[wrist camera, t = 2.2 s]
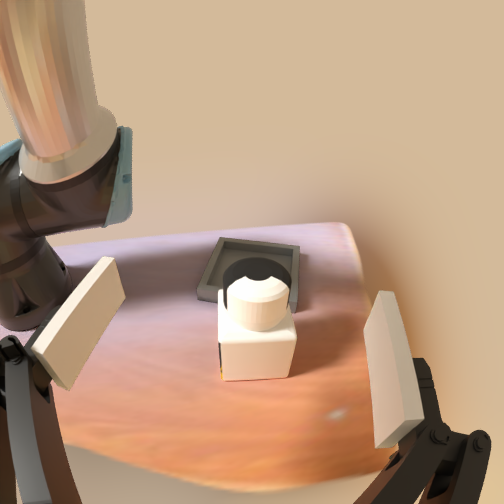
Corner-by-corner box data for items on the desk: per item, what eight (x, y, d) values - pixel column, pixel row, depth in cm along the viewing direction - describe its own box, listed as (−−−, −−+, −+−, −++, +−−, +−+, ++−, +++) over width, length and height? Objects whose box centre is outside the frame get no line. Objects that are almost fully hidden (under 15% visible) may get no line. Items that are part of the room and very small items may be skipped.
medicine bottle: (220, 332, 35) (216, 249, 28) (278, 329, 36) (290, 247, 29) (221, 382, 29) (215, 301, 22) (288, 378, 30) (307, 298, 23)
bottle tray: (197, 299, 39) (196, 288, 38) (220, 247, 50) (219, 237, 49) (295, 313, 38) (297, 302, 37) (298, 256, 49) (299, 246, 48)
